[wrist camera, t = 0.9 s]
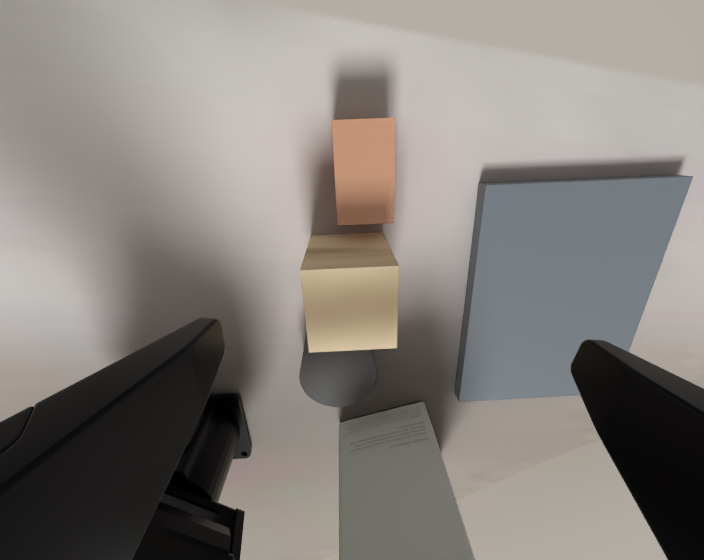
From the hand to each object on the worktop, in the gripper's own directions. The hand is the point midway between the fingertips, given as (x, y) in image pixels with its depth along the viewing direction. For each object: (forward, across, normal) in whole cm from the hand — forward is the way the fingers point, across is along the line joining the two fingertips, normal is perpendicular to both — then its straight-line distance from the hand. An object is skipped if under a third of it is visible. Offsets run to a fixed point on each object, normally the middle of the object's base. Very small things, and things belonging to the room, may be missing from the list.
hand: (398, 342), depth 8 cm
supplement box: (+11, -3, +20) cm, 23 cm away
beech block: (+12, +2, +4) cm, 13 cm away
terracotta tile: (+13, +1, -2) cm, 13 cm away
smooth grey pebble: (+12, +2, +11) cm, 16 cm away
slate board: (+13, -13, +6) cm, 19 cm away
